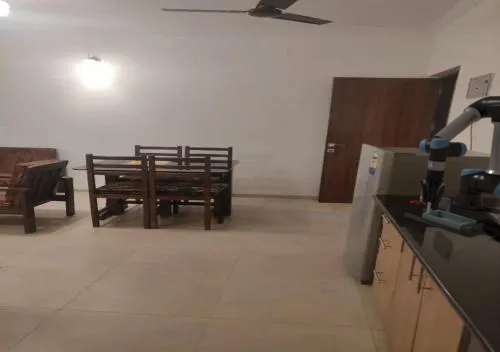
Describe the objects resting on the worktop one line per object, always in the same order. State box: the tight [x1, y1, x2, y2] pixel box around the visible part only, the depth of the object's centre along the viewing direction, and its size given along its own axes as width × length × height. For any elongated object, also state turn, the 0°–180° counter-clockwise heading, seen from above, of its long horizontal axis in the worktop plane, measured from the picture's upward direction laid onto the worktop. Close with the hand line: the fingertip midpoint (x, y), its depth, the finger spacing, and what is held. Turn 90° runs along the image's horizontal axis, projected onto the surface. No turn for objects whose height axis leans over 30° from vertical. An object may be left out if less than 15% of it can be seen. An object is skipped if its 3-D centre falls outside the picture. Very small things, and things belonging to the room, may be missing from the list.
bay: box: [403, 208, 484, 237], centre depth 155 cm, size 17×29×4 cm, turn 29°
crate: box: [421, 209, 478, 230], centre depth 152 cm, size 14×18×4 cm
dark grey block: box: [437, 196, 452, 213], centre depth 168 cm, size 4×4×10 cm
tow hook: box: [409, 189, 426, 206], centre depth 190 cm, size 8×13×9 cm
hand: (429, 214), depth 161 cm, fingers closed
